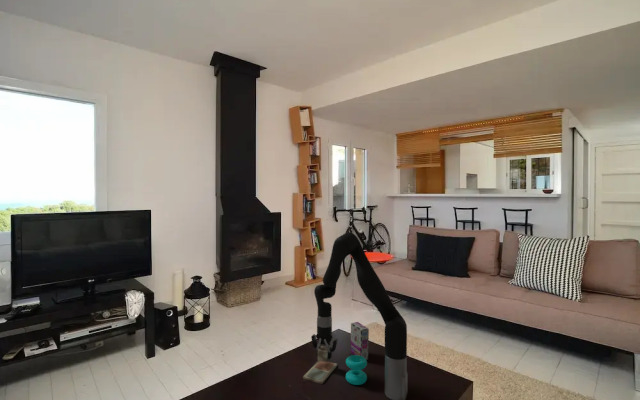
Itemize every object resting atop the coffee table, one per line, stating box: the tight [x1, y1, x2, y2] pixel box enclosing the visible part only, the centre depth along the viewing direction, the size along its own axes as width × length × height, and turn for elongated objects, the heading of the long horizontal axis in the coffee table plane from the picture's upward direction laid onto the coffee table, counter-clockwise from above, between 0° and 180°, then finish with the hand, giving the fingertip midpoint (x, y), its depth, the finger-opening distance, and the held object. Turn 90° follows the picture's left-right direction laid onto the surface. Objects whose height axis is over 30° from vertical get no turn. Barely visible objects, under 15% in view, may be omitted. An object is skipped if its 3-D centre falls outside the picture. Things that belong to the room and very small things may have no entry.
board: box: [302, 359, 338, 385], centre depth 156 cm, size 10×18×1 cm, turn 155°
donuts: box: [345, 354, 368, 386], centre depth 149 cm, size 10×10×10 cm
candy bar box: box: [350, 321, 370, 360], centre depth 173 cm, size 11×5×16 cm, turn 25°
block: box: [317, 345, 329, 362], centre depth 160 cm, size 5×5×5 cm
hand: (324, 357), depth 160 cm, fingers closed on block, 5 cm apart
